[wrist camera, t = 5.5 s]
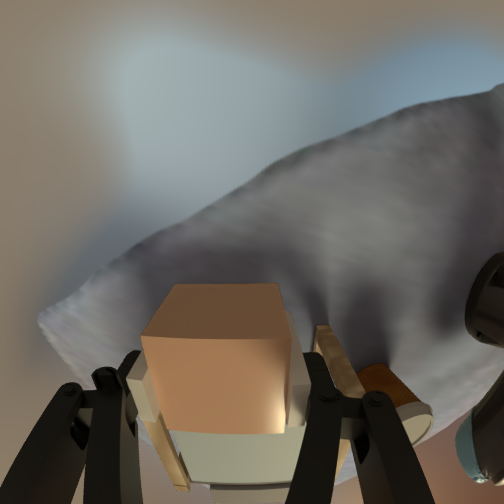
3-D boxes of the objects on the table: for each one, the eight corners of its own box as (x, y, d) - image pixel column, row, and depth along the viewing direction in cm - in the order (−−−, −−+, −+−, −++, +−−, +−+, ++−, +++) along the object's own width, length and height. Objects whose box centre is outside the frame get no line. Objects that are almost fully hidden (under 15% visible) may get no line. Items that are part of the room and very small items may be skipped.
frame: (329, 324, 31) (369, 399, 19) (314, 416, 35) (332, 485, 23) (170, 328, 31) (136, 405, 18) (189, 419, 35) (176, 490, 22)
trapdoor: (334, 404, 21) (341, 422, 19) (310, 484, 26) (312, 498, 23) (170, 408, 21) (165, 427, 19) (198, 488, 25) (196, 502, 23)
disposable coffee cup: (326, 397, 34) (348, 462, 23) (365, 346, 32) (405, 407, 21) (372, 406, 36) (399, 461, 24) (409, 361, 34) (449, 413, 22)
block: (277, 282, 16) (291, 337, 10) (275, 365, 18) (284, 433, 12) (175, 283, 16) (140, 335, 10) (186, 365, 17) (166, 429, 12)
